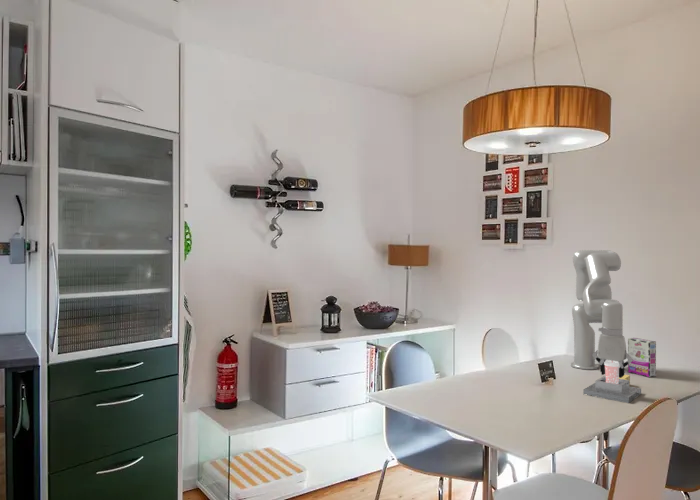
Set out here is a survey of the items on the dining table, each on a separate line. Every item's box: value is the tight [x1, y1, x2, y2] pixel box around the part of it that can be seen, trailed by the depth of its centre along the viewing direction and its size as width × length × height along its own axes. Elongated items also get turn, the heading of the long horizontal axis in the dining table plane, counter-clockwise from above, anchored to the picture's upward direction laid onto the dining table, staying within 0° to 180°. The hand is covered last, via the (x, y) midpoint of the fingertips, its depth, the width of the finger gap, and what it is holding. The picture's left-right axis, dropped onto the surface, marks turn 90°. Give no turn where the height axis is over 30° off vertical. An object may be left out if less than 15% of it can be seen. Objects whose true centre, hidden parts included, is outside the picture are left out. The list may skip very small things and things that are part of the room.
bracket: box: [619, 374, 631, 386], centre depth 221 cm, size 14×8×6 cm, turn 136°
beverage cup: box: [604, 360, 620, 384], centre depth 213 cm, size 6×6×14 cm
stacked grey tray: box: [583, 375, 642, 404], centre depth 213 cm, size 17×17×6 cm
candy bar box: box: [627, 337, 657, 378], centre depth 243 cm, size 11×5×16 cm, turn 25°
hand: (612, 375), depth 213 cm, fingers closed on beverage cup, 6 cm apart
